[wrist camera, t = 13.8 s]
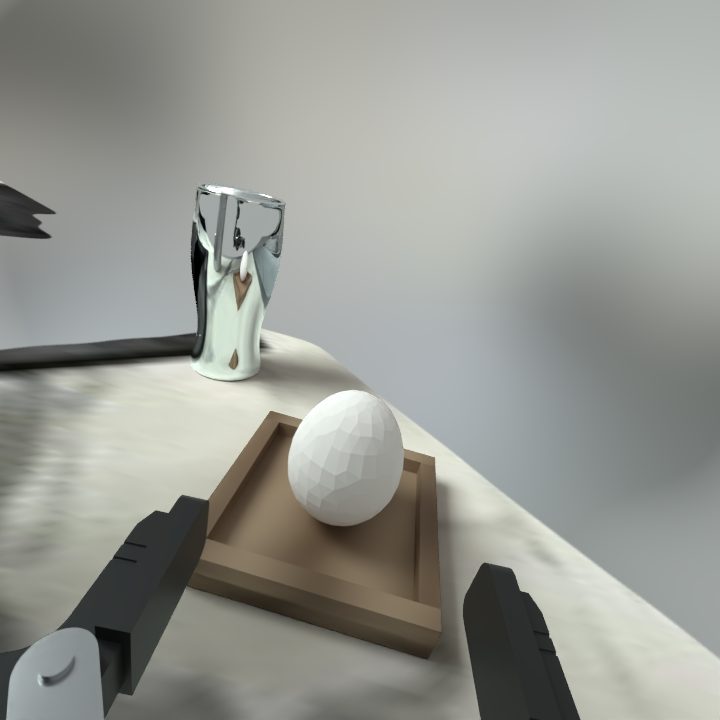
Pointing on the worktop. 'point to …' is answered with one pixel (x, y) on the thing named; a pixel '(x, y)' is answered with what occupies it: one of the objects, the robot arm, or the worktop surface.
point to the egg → (346, 458)
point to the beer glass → (233, 276)
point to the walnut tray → (325, 550)
